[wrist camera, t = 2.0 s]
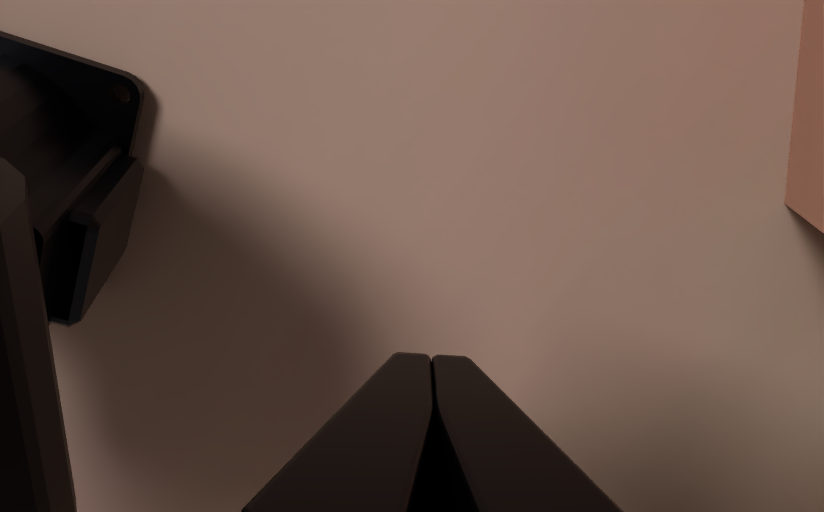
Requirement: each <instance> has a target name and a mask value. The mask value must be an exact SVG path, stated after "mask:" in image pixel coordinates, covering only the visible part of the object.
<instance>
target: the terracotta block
mask: <svg viewBox="0 0 824 512" xmlns="http://www.w3.org/2000/svg"><path fill="white" fill-rule="evenodd" d="M785 204H786V205H787V206H788V207H790V208H791V209H792V210H794V211H795V212H796V213H798V214H799V215H800V216H802V217H803V218H804V219H805V220H807V221H808V222H809V223H811V224H812V225H813V226H815V227H816V228H817V229H819V230H820V231H821V232H822V233H824V0H804V7H803V18H802V28H801V38H800V49H799V59H798V70H797V80H796V90H795V101H794V111H793V121H792V132H791V142H790V152H789V163H788V173H787V183H786V194H785Z"/></svg>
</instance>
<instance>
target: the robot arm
mask: <svg viewBox="0 0 824 512" xmlns="http://www.w3.org/2000/svg"><path fill="white" fill-rule="evenodd" d="M114 85H122V86H124V87H126V88H127V90H128V91H129V93H130V99H129V100H128V101H121V100H120V99H118V98H117V97H116V96H115V94H114V92H113V87H114ZM143 99H144V89H143V86H142V84H141V82H140V81H139V80H138V78H137V77H136V76H134V75H132V74H131V73H129V72H126V71H123V70H120V69H117V68H114V67H111V66H108V65H105V64H101V63H98V62H95V61H92V60H89V59H86V58H83V57H80V56H77V55H74V54H70V53H67V52H64V51H61V50H58V49H55V48H52V47H49V46H46V45H43V44H39V43H36V42H33V41H30V40H27V39H24V38H21V37H18V36H15V35H12V34H8V33H5V32H2V31H0V512H77V509H76V496H75V489H74V483H73V477H72V471H71V464H70V458H69V452H68V445H67V439H66V433H65V426H64V420H63V414H62V407H61V401H60V395H59V389H58V382H57V376H56V370H55V363H54V357H53V351H52V344H51V338H50V332H49V325H50V323H54V324H58V325H62V326H66V327H70V326H72V325H74V324H75V323H77V322H79V321H81V320H82V318H83V317H84V315H85V313H86V312H87V310H88V309H89V307H90V305H91V304H92V302H93V301H94V299H95V297H96V296H97V294H98V293H99V291H100V289H101V288H102V286H103V285H104V283H105V281H106V280H107V278H108V277H109V275H110V273H111V272H112V270H113V269H114V267H115V265H116V264H117V262H118V261H119V259H120V257H121V256H122V254H123V253H124V251H125V249H126V246H127V242H128V237H129V233H130V228H131V224H132V220H133V215H134V211H135V206H136V202H137V198H138V193H139V189H140V184H141V180H142V175H143V171H144V167H143V166H142V164H141V162H140V160H139V159H138V158H136V157H133V156H131V155H132V150H133V145H134V141H135V136H136V132H137V127H138V122H139V118H140V113H141V109H142V104H143ZM241 512H623V511H622V510H621V509H620V508H619V507H618V506H617V505H616V504H615V503H614V502H613V501H612V500H611V499H610V498H609V497H608V496H607V495H606V494H605V493H604V492H603V491H602V490H601V489H600V488H599V487H598V486H597V485H596V484H595V483H594V482H593V481H592V480H591V479H590V478H589V477H588V476H587V475H586V474H585V473H584V472H583V471H582V470H581V469H580V468H579V467H578V466H577V465H576V464H575V463H574V462H573V461H572V460H571V459H570V458H569V457H568V456H567V455H566V454H565V453H564V452H563V451H562V450H561V449H560V448H559V447H558V446H557V445H556V444H555V443H554V442H553V441H552V440H551V439H550V438H549V437H548V436H547V435H546V434H545V433H544V432H543V431H542V430H541V429H540V428H539V427H538V426H537V425H536V424H535V423H534V422H533V421H532V420H531V419H530V418H529V417H528V416H527V415H526V414H525V413H524V412H523V411H522V410H521V409H520V408H519V407H518V406H517V405H516V404H515V403H514V402H513V401H512V400H511V399H510V398H509V397H508V396H507V395H506V394H505V393H504V392H503V391H502V390H501V389H500V388H499V387H498V386H497V385H496V384H495V383H494V382H493V381H492V380H491V379H490V378H489V377H488V376H487V375H486V374H485V373H484V372H483V371H482V370H481V369H480V368H479V367H478V366H477V365H476V364H475V363H474V362H473V361H472V360H471V359H469V358H468V357H466V356H453V355H436V356H434V357H433V358H432V361H431V359H430V357H429V356H428V355H427V354H420V353H403V352H397V353H395V354H393V355H392V356H391V357H390V358H389V359H388V360H387V361H386V362H385V363H384V364H383V365H382V366H381V367H380V368H379V369H378V370H377V371H376V372H375V373H374V374H373V375H372V376H371V377H370V379H369V380H368V381H367V382H366V383H365V384H364V385H363V386H362V387H361V388H360V389H359V390H358V391H357V392H356V393H355V394H354V395H353V396H352V397H351V398H350V399H349V400H348V401H347V402H346V403H345V404H344V405H343V406H342V407H341V408H340V409H339V410H338V411H337V412H336V413H335V414H334V415H333V417H332V418H331V419H330V420H329V421H328V422H327V423H326V424H325V425H324V426H323V427H322V428H321V429H320V430H319V431H318V432H317V433H316V434H315V435H314V436H313V437H312V438H311V439H310V440H309V441H308V442H307V443H306V444H305V445H304V446H303V447H302V448H301V449H300V450H299V451H298V452H297V453H296V455H295V456H294V457H293V458H292V459H291V460H290V461H289V462H288V463H287V464H286V465H285V466H284V467H283V468H282V469H281V470H280V471H279V472H278V473H277V474H276V475H275V476H274V477H273V478H272V479H271V480H270V481H269V482H268V483H267V484H266V485H265V486H264V487H263V488H262V489H261V490H260V491H259V493H258V494H257V495H256V496H255V497H254V498H253V499H252V500H251V501H250V502H249V503H248V504H247V505H246V506H245V507H244V508H243V509H242V511H241Z"/></svg>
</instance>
